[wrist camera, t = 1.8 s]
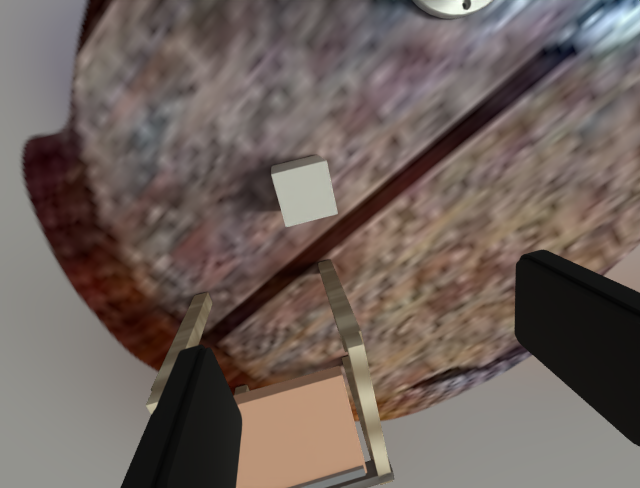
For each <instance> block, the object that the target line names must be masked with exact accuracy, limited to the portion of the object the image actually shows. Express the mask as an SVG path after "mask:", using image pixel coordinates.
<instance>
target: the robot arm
mask: <svg viewBox="0 0 640 488" xmlns="http://www.w3.org/2000/svg"><path fill="white" fill-rule="evenodd" d="M412 1H413V2H414V3H415V4H416V5H417V6H418V7H419V8H420V9H422V10H424V11H425V12H427V13H429V14H430V15H433V16H437V17H440V18H448V19H455V18H461V17H465V16H468V15H470V14H473V13H475V12H477V11H479V10H480V9H482V8H484V7H485V6H487V5H488V4H490V3H491V2H492V1H493V0H412ZM462 5H463V7H462ZM515 336H516V338H517V340H518V341H519V343H520V344H521V345H522V346H523V347H524V348H526V349H527V350H528V351H529V352H530V353H531V354H532V355H534V356H535V357H536V358H537V359H538V360H539V361H540V362H542V363H543V364H544V365H545V366H546V367H547V368H548V369H550V370H551V371H552V372H553V373H554V374H555V375H556V376H557V377H559V378H560V379H561V380H562V381H563V382H564V383H565V384H566V385H568V386H569V387H570V388H571V389H572V390H573V391H574V392H576V393H577V394H578V395H579V396H580V397H581V398H583V400H585V401H586V402H587V403H588V404H589V405H590V406H592V407H593V408H594V409H595V410H596V411H597V412H598V413H599V414H600V415H602V416H603V417H604V418H605V419H606V420H607V421H608V422H610V423H611V424H612V425H613V426H614V427H615V428H616V429H617V430H619V431H620V432H621V433H622V434H623V435H624V436H625V437H627V438H628V439H629V440H630V441H631V442H633V443H634V444H636V445H638V446H640V293H639V292H637V291H635V290H633V289H630V288H628V287H626V286H624V285H622V284H619V283H617V282H615V281H613V280H611V279H608V278H606V277H604V276H602V275H600V274H597V273H595V272H593V271H591V270H589V269H586V268H584V267H582V266H580V265H578V264H575V263H573V262H571V261H569V260H567V259H564V258H562V257H560V256H558V255H556V254H553V253H551V252H549V251H547V250H538V251H535V252H531V253H527V254H524V255H522V256H521V257H520V260H519V261H518V262H517V264H516V286H515ZM241 435H242V415H241V412H240V410H239V408H238V405H237V403H236V401H235V399H234V397H233V395H232V392H231V390H230V388H229V386H228V384H227V381H226V379H225V377H224V375H223V373H222V371H221V368H220V366H219V364H218V362H217V360H216V358H215V355H214V353H213V351H212V349H211V348H206V349H205V347H204V346H203V345H197V346H194V347H190V348H186V349H183V350H181V351H180V352H179V354H178V356H177V358H176V361H175V363H174V366H173V368H172V370H171V373H170V375H169V377H168V380H167V382H166V385H165V387H164V389H163V392H162V394H161V397H160V399H159V401H158V404H157V406H156V409H155V410H154V411H153V413H152V415H151V417H150V419H149V422H148V424H147V426H146V429H145V431H144V434H143V436H142V438H141V440H140V443H139V445H138V448H137V450H136V452H135V455H134V457H133V459H132V462H131V464H130V467H129V469H128V471H127V473H126V476H125V479H124V481H123V483H122V486H121V488H236V483H237V473H238V464H239V454H240V444H241Z"/></svg>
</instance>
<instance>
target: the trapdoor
mask: <svg viewBox="0 0 640 488" xmlns="http://www.w3.org/2000/svg"><path fill="white" fill-rule="evenodd" d="M233 397H234V399H235V401H236V403H237V405H238V408H239V410H240V412H241V415H242V435H241V444H240V454H239V464H238V473H237V483H236V488H326V487H329V486H332V485H336V484H339V483H342V482H346V481H349V480H352V479H355V478H359V477H362V476H365V475H366V474H365V473H367V469H366V465H365V461H364V457H363V453H362V449H361V446H360V442H359V438H358V435H357V430H356V426H355V422H354V419H353V415H352V411H351V407H350V403H349V399H348V395H347V391H346V388H345V384H344V380H343V376H342V372H341V369H340V366H336V367H333V368H329V369H326V370H322V371H319V372H315V373H312V374H308V375H305V376H301V377H298V378H294V379H291V380H287V381H284V382H280V383H276V384H273V385H269V386H266V387H262V388H259V389H255V390H252V391H248V392H245V393H241V394H238V395H234V396H233Z"/></svg>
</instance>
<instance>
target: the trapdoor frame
mask: <svg viewBox="0 0 640 488" xmlns="http://www.w3.org/2000/svg"><path fill="white" fill-rule="evenodd" d="M318 266H319V270H320V274H321V278H322V281H323V284H324V287H325V290H326V293H327V296H328V300H329V303H330V306H331V309H332V312H333V315H334V319H335V322H336V325H337V328H338V331H339V334H340V338H341V341H342V344H343V347H344V350H345V352H347V351H348V356H347V357H343V358H342V361H343V365H344V369H345V372H346V376H347V379H348V383H349V386H350V390H351V393H352V396H353V400H354V403H355V407H356V410H357V414H358V417H359V420H360V424H361V427H362V431H363V434H364V437H365V441H366V444H367V448H368V451H369V455H370V458H371V460H370V461H367V462H365V465H366V469H367V473H365V474H366V475H365V476H362V477H359V478H355V479H352V480H349V481H346V482H342V483H339V484H336V485H332V486H329V487H326V488H367V487H371V486H374V485H378V484H380V485H382V484H386V483H389V482H391V481H393V480H394V474H393V471H392V468H391V464H390V462H389V459H388V456H387V452H386V447H385V443H384V438H383V433H382V429H381V424H380V419H379V414H378V409H377V405H376V400H375V395H374V390H373V386H372V381H371V376H370V372H369V367H368V362H367V358H366V353H365V348H364V343H363V338H362V334H361V330H360V328H359V325H358V323H357V321H356V318H355V316H354V313H353V311H352V309H351V306H350V304H349V302H348V299H347V297H346V295H345V292H344V290H343V288H342V285H341V283H340V281H339V278H338V276H337V274H336V271H335V269H334V267H333V264H332V262H331V260H326V261H323V262H319V263H318ZM212 304H213V303H212V301H211V298H210V296H209V294H208V292H206V293H203V294H199V295H195V296H194V298H193V300H192V302H191V304H190V306H189V309H188V311H187V313H186V315H185V317H184V319H183V321H182V324H181V326H180V328H179V330H178V332H177V334H176V336H175V339H174V341H173V343H172V345H171V347H170V349H169V351H168V354H167V356H166V358H165V360H164V362H163V364H162V366H161V369H160V371H159V373H158V375H157V377H156V379H155V382H154V384H153V386H152V388H151V391H152V393H151V395H150V397H149V399H148V402H147V404H146V407H147V408H148V410H149V412H150V413H151V415H152V413H153V411H154V410H155V409H156V406H157V404H158V401H159V399H160V397H161V394H162V392H163V389H164V387H165V385H166V382H167V380H168V377H169V375H170V373H171V370H172V368H173V366H174V363H175V361H176V358H177V356H178V354H179V352H180V351H181V350H183V349H186V348H190V347H194V346H197V345H198V344H199V341H200V339H201V336H202V333H203V330H204V327H205V324H206V321H207V318H208V315H209V312H210V309H211V307H212ZM248 391H249V388H248V386H247V385H244V386H241V387H237V388H235V395H238V394H241V393H245V392H248Z"/></svg>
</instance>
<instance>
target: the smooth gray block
mask: <svg viewBox="0 0 640 488" xmlns="http://www.w3.org/2000/svg"><path fill="white" fill-rule="evenodd" d="M271 176H272V179H273V183H274V186H275V190H276V193H277V197H278V200H279V204H280V208H281V211H282V215H283V218H284V222H285V225H286V227H289V226H293V225H297V224H300V223H304V222H308V221H312V220H316V219H320V218H324V217H327V216H331V215H335V214H338V213H337V208H336V203H335V199H334V194H333V189H332V184H331V179H330V175H329V170H328V165H327V161H326V160H325V159H323V158H322V157H320V156H319V155H314V156H310V157H306V158H302V159H298V160H294V161H290V162H286V163H282V164H278V165H274V166H272V167H271Z"/></svg>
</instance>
